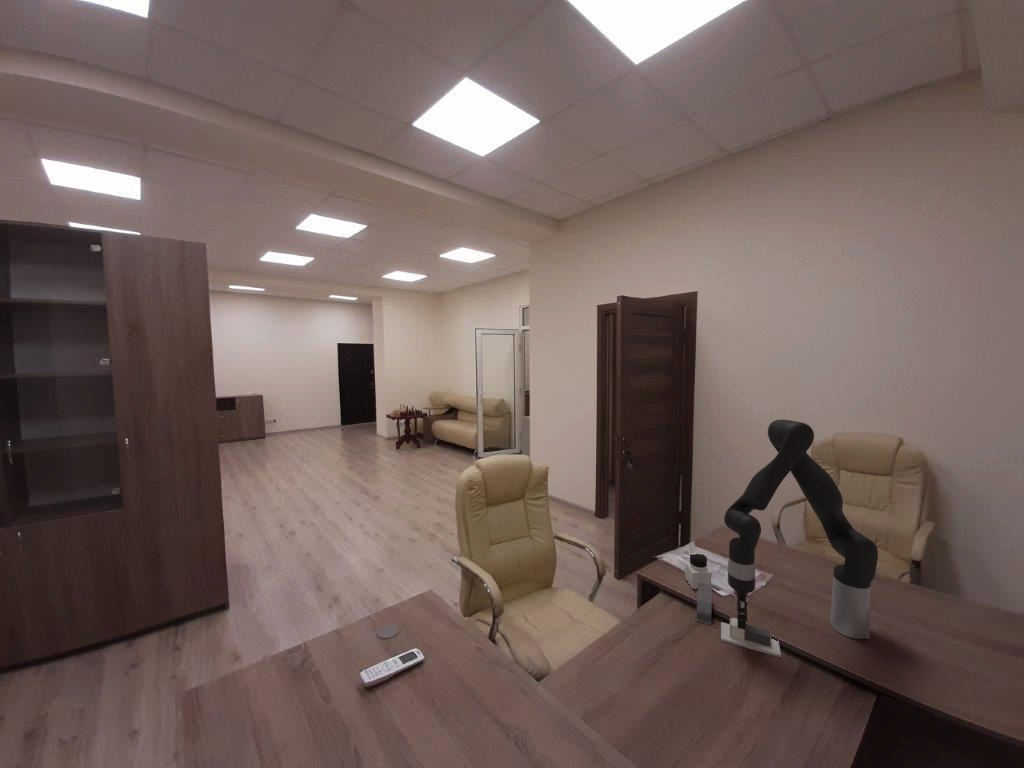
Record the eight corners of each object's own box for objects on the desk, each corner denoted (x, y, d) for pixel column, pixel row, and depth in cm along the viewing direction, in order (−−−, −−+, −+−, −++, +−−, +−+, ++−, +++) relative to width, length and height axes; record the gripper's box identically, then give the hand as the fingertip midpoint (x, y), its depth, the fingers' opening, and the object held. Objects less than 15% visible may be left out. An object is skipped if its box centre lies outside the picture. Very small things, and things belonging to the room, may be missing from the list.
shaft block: (711, 598, 147) (712, 582, 147) (711, 625, 134) (711, 607, 133) (698, 595, 149) (698, 579, 149) (696, 621, 136) (696, 603, 136)
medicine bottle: (711, 589, 153) (712, 560, 151) (692, 590, 153) (693, 560, 151) (702, 578, 160) (703, 550, 158) (684, 578, 160) (685, 550, 158)
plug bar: (768, 638, 127) (769, 627, 126) (770, 647, 123) (770, 635, 123) (729, 628, 132) (729, 617, 131) (729, 636, 128) (730, 625, 128)
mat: (777, 639, 127) (777, 636, 127) (780, 657, 120) (781, 655, 120) (721, 624, 135) (721, 622, 134) (721, 640, 128) (721, 638, 127)
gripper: (757, 588, 118) (756, 638, 120) (753, 562, 131) (752, 608, 133) (728, 582, 122) (728, 631, 123) (727, 558, 134) (727, 602, 136)
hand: (740, 619), depth 128 cm, fingers open, 8 cm apart
